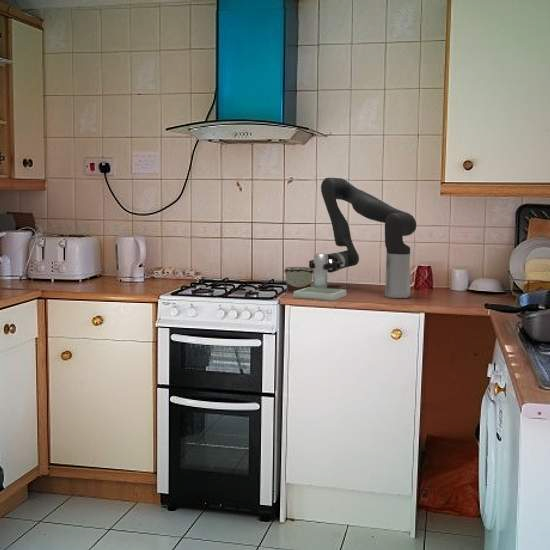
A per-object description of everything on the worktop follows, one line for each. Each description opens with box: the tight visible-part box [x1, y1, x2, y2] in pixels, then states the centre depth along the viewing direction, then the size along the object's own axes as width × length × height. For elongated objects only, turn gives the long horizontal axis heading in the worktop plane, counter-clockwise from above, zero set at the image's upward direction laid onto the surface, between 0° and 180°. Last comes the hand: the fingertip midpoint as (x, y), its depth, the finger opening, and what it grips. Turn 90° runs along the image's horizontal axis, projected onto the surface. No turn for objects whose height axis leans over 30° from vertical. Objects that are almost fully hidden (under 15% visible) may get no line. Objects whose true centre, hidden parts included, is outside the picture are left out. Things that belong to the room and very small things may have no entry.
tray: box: [293, 286, 348, 302], centre depth 298 cm, size 16×16×2 cm
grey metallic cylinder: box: [312, 253, 329, 288], centre depth 297 cm, size 5×5×13 cm
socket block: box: [327, 284, 348, 293], centre depth 312 cm, size 9×9×2 cm
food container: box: [283, 266, 314, 293], centre depth 312 cm, size 12×6×10 cm, turn 84°
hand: (318, 266), depth 295 cm, fingers closed on grey metallic cylinder, 5 cm apart
